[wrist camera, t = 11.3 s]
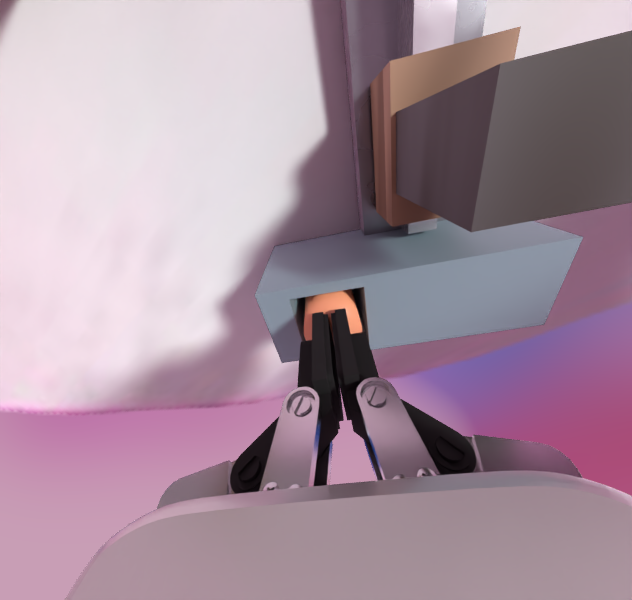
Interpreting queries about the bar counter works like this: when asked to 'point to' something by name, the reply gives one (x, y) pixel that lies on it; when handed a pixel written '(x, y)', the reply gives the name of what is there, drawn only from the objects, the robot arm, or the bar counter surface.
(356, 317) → the button
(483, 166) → the carriage
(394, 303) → the cabinet
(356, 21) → the rail
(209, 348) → the bar counter surface
